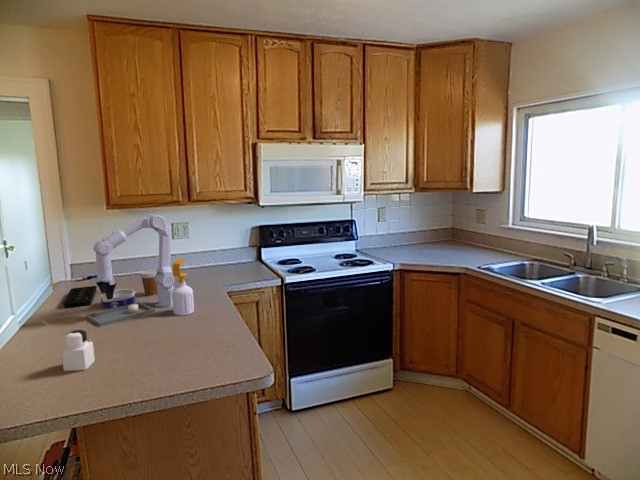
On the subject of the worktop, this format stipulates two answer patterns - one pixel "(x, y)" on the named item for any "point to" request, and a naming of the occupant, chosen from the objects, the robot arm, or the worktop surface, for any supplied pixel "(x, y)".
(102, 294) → the pebble
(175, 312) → the soap bottle
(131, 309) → the pebble
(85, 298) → the egg carton
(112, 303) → the dog bowl
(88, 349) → the medicine bottle
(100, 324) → the parts tray
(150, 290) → the disposable coffee cup
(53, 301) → the worktop surface
